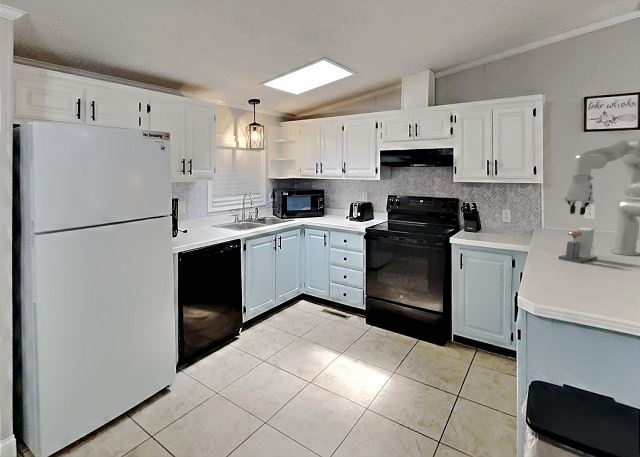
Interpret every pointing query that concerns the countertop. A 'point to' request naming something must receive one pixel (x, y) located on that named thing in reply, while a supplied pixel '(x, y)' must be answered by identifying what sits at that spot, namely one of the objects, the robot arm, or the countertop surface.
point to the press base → (575, 254)
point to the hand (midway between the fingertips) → (577, 213)
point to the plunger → (574, 235)
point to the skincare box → (585, 241)
